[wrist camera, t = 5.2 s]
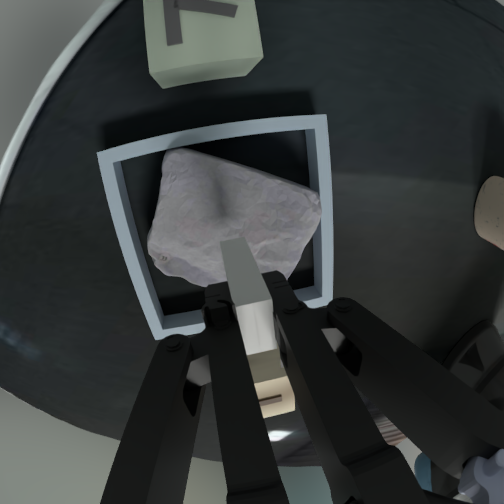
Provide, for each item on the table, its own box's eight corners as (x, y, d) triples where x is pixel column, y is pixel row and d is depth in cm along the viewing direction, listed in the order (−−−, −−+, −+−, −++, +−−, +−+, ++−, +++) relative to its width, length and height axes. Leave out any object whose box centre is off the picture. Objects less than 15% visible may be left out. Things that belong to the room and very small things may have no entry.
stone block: (273, 273, 27) (319, 179, 22) (280, 310, 23) (339, 205, 18) (147, 243, 24) (172, 133, 19) (134, 279, 20) (157, 150, 15)
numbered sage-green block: (245, 76, 18) (264, 56, 12) (163, 88, 17) (149, 72, 12) (235, 8, 15) (250, -29, 10) (155, 20, 15) (141, -15, 9)
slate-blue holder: (323, 291, 27) (332, 303, 25) (157, 326, 25) (155, 340, 23) (315, 115, 20) (326, 114, 18) (105, 150, 18) (96, 152, 16)
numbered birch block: (280, 369, 30) (295, 411, 25) (227, 380, 30) (235, 425, 24) (276, 330, 28) (294, 376, 22) (216, 343, 27) (223, 391, 22)
